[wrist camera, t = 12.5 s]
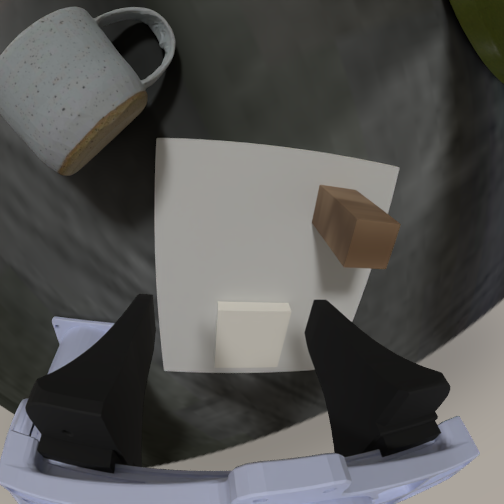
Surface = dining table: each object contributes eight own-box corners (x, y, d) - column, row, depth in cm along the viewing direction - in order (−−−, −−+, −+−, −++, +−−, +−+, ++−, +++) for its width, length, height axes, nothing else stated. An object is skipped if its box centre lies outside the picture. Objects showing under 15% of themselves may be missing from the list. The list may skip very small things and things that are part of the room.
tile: (288, 302, 26) (274, 357, 29) (217, 300, 25) (213, 357, 29) (291, 311, 25) (277, 367, 28) (218, 310, 24) (214, 367, 27)
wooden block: (347, 226, 23) (385, 269, 18) (311, 222, 23) (343, 267, 17) (356, 189, 22) (400, 224, 16) (319, 184, 22) (357, 219, 16)
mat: (331, 365, 32) (332, 368, 32) (164, 367, 29) (164, 370, 29) (396, 166, 22) (399, 167, 22) (157, 137, 19) (156, 138, 19)
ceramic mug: (90, 169, 19) (41, 205, 13) (27, 95, 16) (-38, 104, 9) (204, 66, 17) (203, 46, 11) (133, -10, 14) (101, -54, 7)
